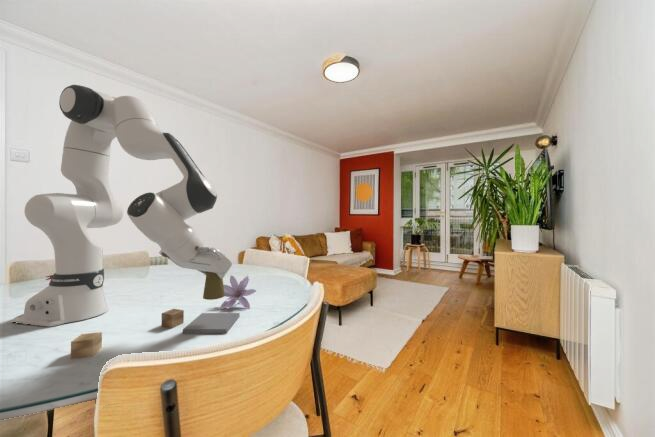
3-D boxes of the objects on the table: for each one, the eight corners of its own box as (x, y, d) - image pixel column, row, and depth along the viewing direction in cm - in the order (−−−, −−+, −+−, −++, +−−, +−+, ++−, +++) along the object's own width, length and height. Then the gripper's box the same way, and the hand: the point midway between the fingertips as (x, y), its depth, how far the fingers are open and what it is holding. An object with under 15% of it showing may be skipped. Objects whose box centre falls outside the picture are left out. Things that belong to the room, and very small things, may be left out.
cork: (207, 293, 80) (207, 258, 80) (227, 293, 81) (227, 258, 81) (199, 299, 74) (199, 261, 74) (220, 299, 75) (221, 261, 75)
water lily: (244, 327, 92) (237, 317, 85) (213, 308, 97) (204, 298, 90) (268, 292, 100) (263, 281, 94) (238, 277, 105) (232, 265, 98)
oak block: (70, 359, 58) (71, 341, 58) (81, 350, 62) (81, 334, 62) (92, 356, 59) (92, 339, 59) (101, 348, 63) (101, 332, 63)
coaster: (182, 333, 71) (182, 329, 71) (202, 316, 83) (202, 313, 83) (226, 333, 72) (226, 329, 72) (239, 316, 84) (239, 313, 84)
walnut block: (161, 326, 76) (161, 313, 76) (173, 321, 79) (173, 308, 79) (172, 328, 74) (172, 314, 74) (183, 323, 78) (183, 310, 78)
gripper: (219, 239, 66) (246, 270, 75) (171, 236, 76) (200, 263, 85) (203, 258, 63) (234, 289, 71) (155, 252, 72) (187, 280, 81)
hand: (216, 275), depth 78 cm, fingers closed on cork, 4 cm apart
